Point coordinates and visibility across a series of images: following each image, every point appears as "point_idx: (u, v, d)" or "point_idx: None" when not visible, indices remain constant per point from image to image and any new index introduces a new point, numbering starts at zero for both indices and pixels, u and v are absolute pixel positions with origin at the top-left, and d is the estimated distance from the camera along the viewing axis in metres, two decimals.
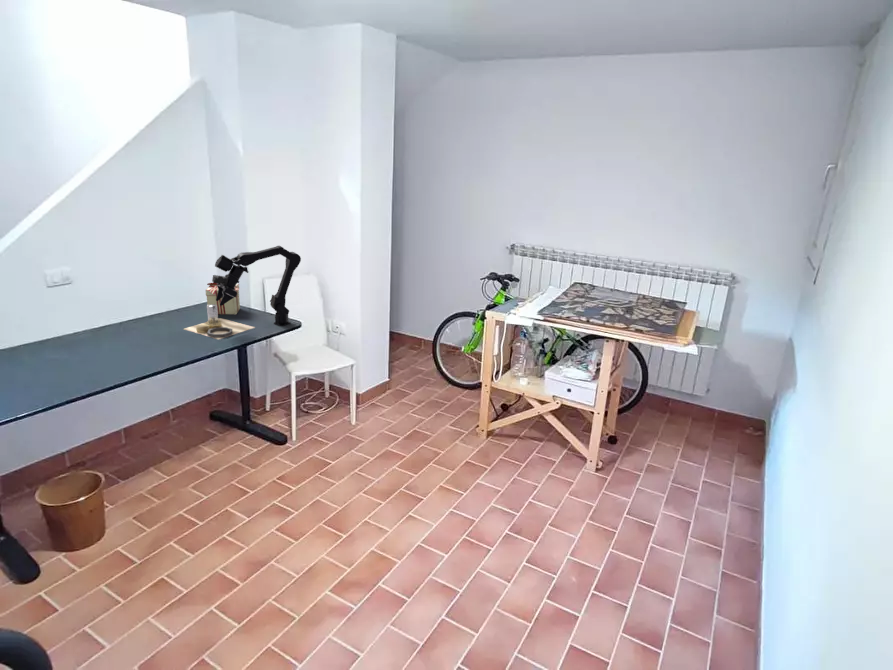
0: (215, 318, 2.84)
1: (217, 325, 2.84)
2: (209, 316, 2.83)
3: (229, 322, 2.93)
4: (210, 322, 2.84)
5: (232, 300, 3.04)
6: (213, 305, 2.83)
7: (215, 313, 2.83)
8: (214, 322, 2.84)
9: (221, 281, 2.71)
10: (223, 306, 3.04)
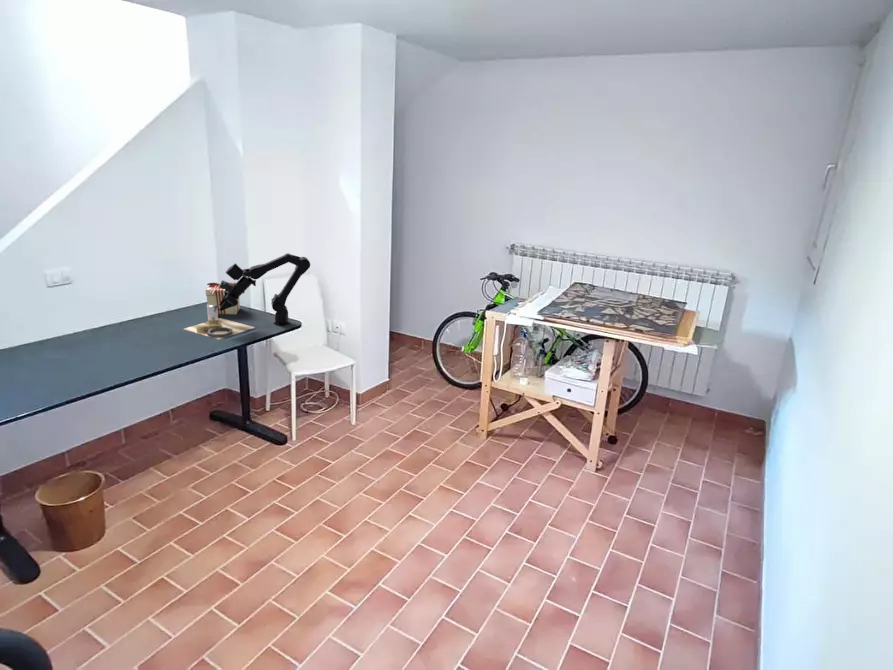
0: (215, 318, 2.84)
1: (217, 325, 2.84)
2: (209, 316, 2.83)
3: (229, 322, 2.93)
4: (210, 322, 2.84)
5: None
6: (213, 305, 2.83)
7: (215, 313, 2.83)
8: (214, 322, 2.84)
9: (226, 288, 2.79)
10: None
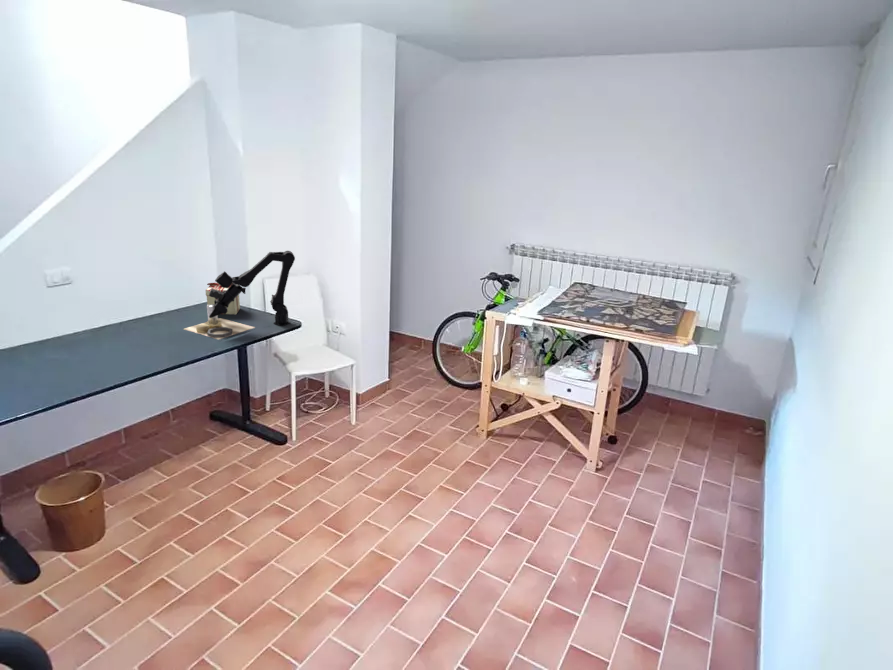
0: (215, 318, 2.84)
1: (217, 325, 2.84)
2: None
3: (229, 322, 2.93)
4: (210, 322, 2.84)
5: None
6: (213, 305, 2.83)
7: None
8: (214, 322, 2.84)
9: (216, 296, 2.78)
10: None
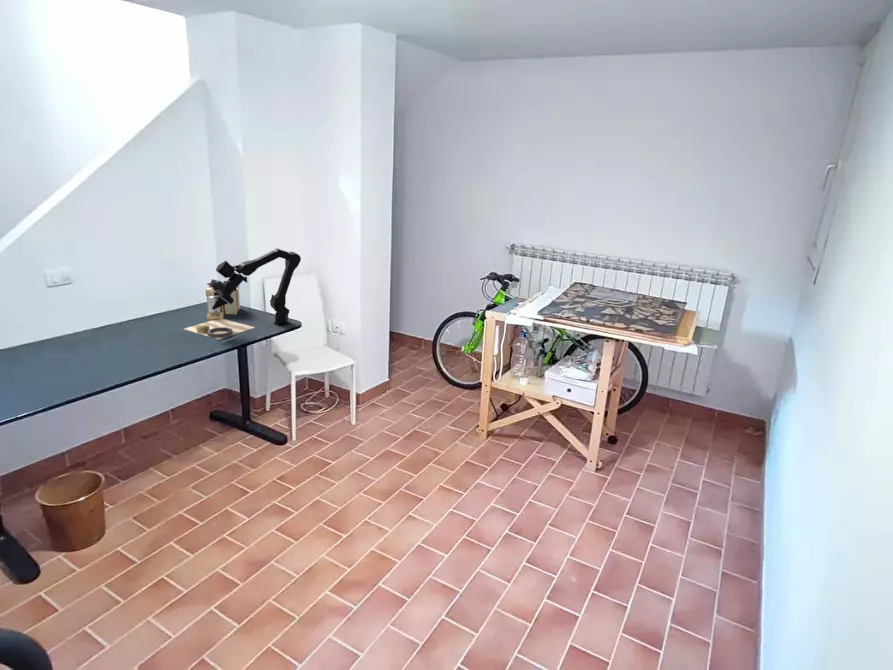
0: (218, 309, 2.75)
1: (220, 316, 2.76)
2: (211, 308, 2.74)
3: (229, 322, 2.93)
4: (213, 314, 2.75)
5: None
6: (214, 296, 2.75)
7: None
8: (217, 314, 2.75)
9: (219, 286, 2.70)
10: (223, 306, 3.04)
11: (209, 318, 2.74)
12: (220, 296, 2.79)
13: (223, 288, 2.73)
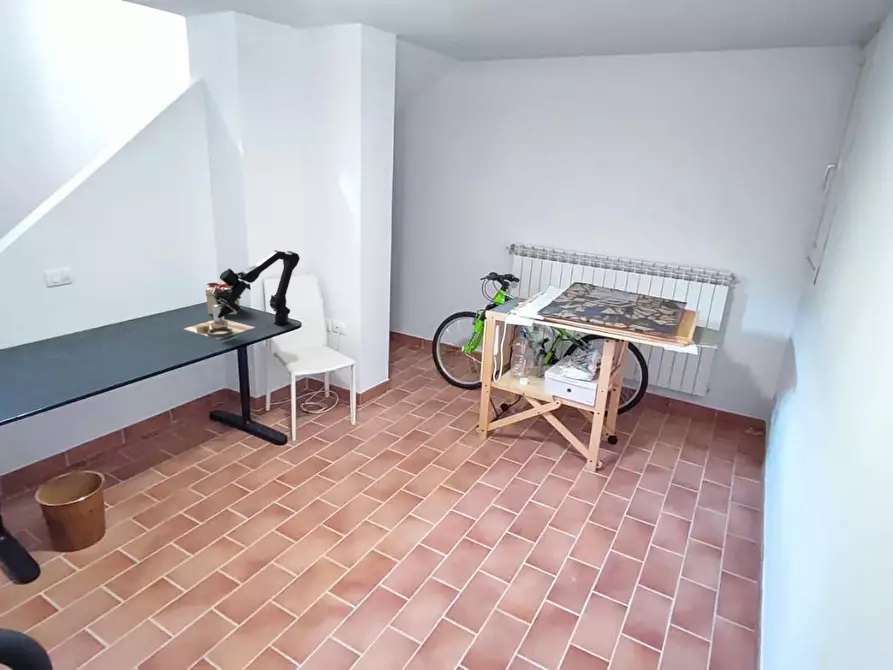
0: (223, 318, 2.73)
1: (226, 325, 2.74)
2: (217, 316, 2.71)
3: (229, 322, 2.93)
4: (218, 323, 2.72)
5: None
6: (219, 305, 2.72)
7: None
8: (222, 322, 2.73)
9: (225, 294, 2.69)
10: None
11: (215, 327, 2.71)
12: None
13: (228, 296, 2.71)
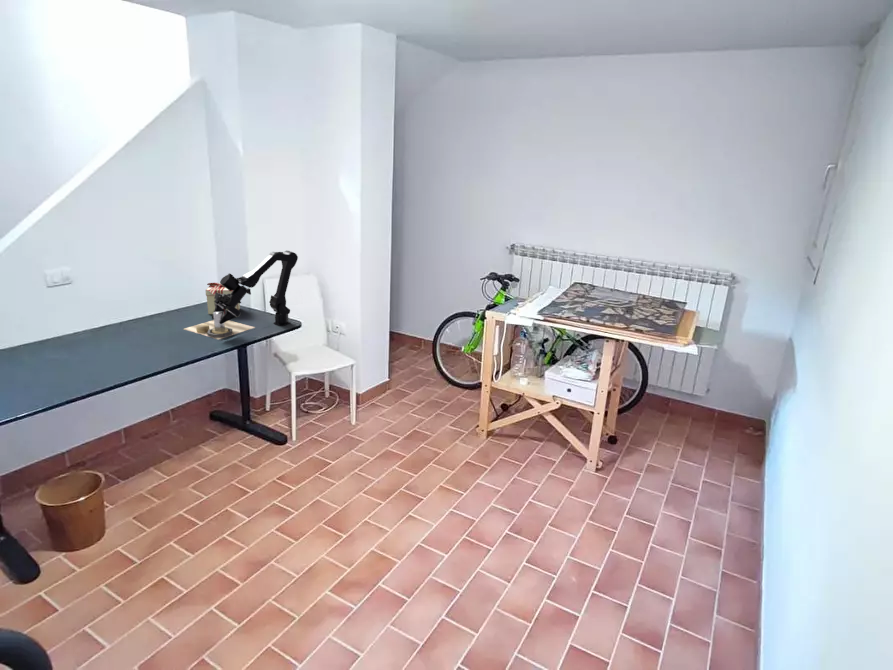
0: (223, 325, 2.74)
1: (226, 332, 2.75)
2: (217, 324, 2.72)
3: (229, 322, 2.93)
4: (219, 330, 2.73)
5: None
6: (220, 312, 2.73)
7: None
8: (223, 329, 2.74)
9: (226, 299, 2.69)
10: None
11: None
12: (222, 308, 2.79)
13: (228, 301, 2.72)
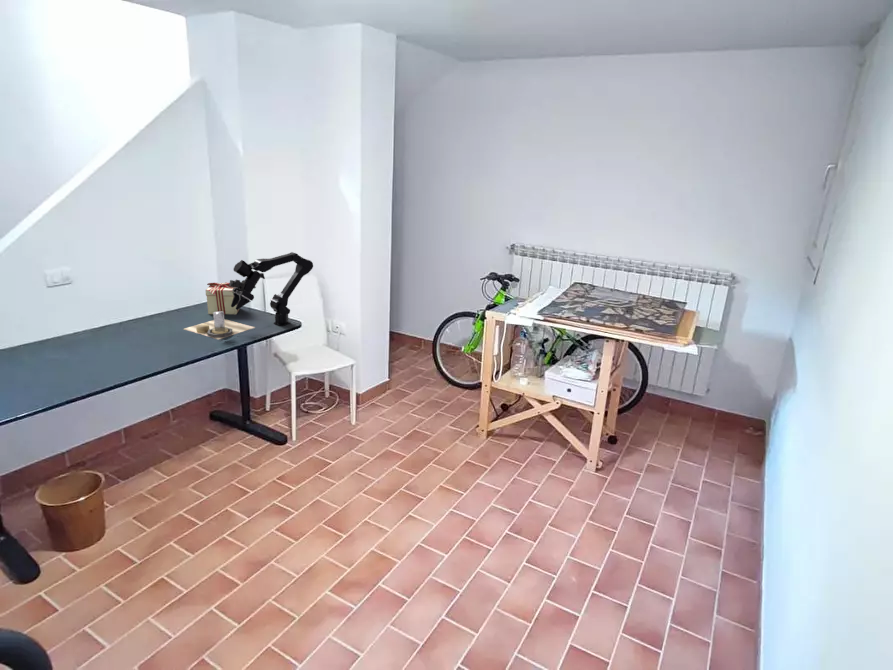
0: (223, 325, 2.74)
1: (226, 332, 2.75)
2: (217, 324, 2.72)
3: (229, 322, 2.93)
4: (219, 330, 2.73)
5: (232, 300, 3.04)
6: (220, 312, 2.73)
7: (223, 320, 2.74)
8: (223, 329, 2.74)
9: (238, 285, 2.73)
10: (223, 306, 3.04)
11: None
12: None
13: (242, 286, 2.75)
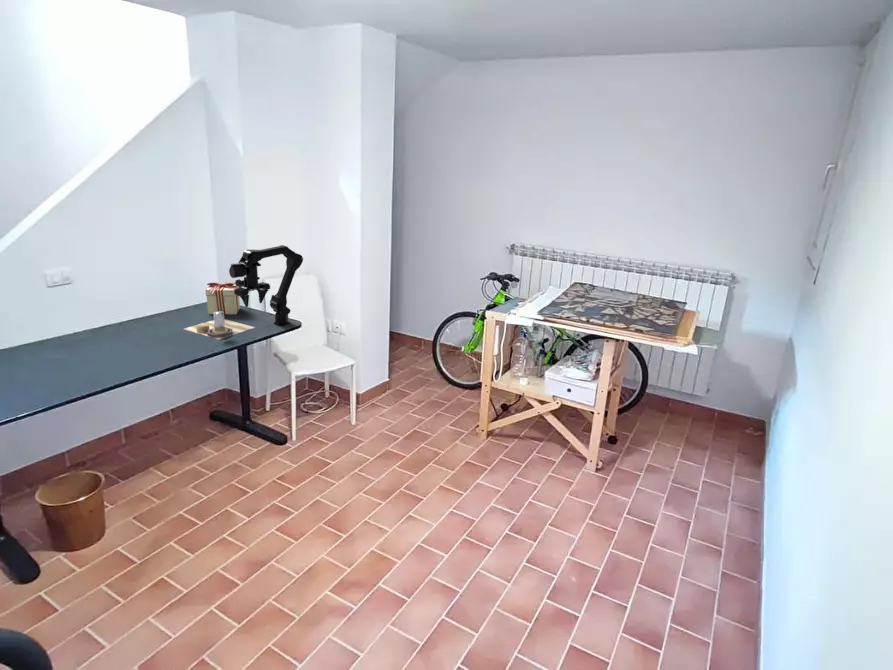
0: (223, 325, 2.74)
1: (226, 332, 2.75)
2: (217, 324, 2.72)
3: (229, 322, 2.93)
4: (219, 330, 2.73)
5: (232, 300, 3.04)
6: (220, 312, 2.73)
7: (223, 320, 2.74)
8: (223, 329, 2.74)
9: (238, 284, 2.79)
10: (223, 306, 3.04)
11: None
12: (261, 290, 2.86)
13: (243, 284, 2.79)
